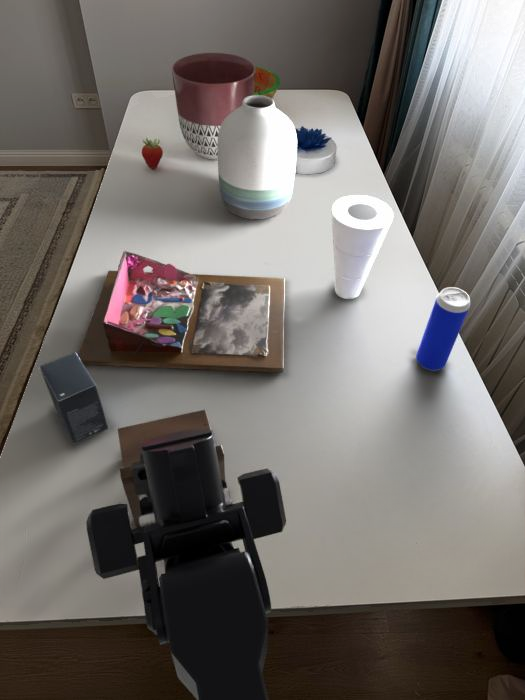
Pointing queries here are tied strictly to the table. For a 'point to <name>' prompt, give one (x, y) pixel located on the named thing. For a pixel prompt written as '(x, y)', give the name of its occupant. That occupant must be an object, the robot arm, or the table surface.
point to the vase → (256, 159)
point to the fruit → (152, 153)
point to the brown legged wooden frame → (146, 431)
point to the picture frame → (185, 320)
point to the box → (74, 397)
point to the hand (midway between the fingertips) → (182, 497)
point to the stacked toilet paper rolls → (357, 240)
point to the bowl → (265, 82)
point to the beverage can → (443, 328)
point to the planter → (209, 95)
